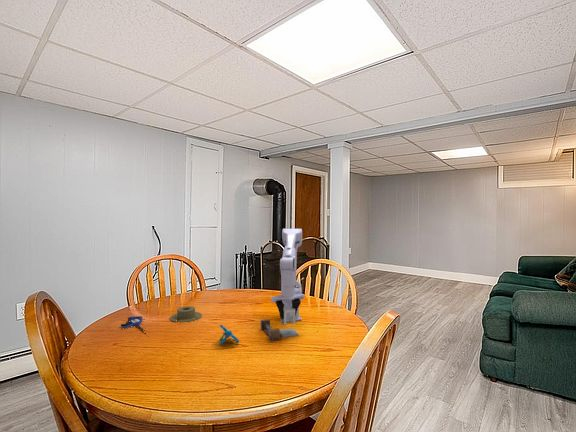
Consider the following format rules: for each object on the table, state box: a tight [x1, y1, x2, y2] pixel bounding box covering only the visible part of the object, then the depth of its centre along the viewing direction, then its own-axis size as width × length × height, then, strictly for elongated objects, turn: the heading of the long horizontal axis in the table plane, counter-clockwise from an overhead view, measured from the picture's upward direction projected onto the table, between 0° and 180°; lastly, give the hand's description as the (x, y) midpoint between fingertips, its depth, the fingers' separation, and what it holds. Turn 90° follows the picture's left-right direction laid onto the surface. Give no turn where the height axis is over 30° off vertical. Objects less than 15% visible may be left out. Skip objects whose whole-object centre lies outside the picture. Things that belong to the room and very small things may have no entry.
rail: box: [259, 318, 281, 342], centre depth 128 cm, size 14×4×4 cm, turn 21°
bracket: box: [280, 306, 296, 326], centre depth 129 cm, size 4×5×6 cm
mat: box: [279, 327, 299, 339], centre depth 129 cm, size 7×7×1 cm
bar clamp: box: [120, 315, 146, 332], centre depth 132 cm, size 32×2×10 cm
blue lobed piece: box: [219, 324, 240, 346], centre depth 119 cm, size 11×6×10 cm
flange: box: [169, 305, 203, 323], centre depth 149 cm, size 5×15×15 cm
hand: (287, 317), depth 129 cm, fingers closed on bracket, 5 cm apart
